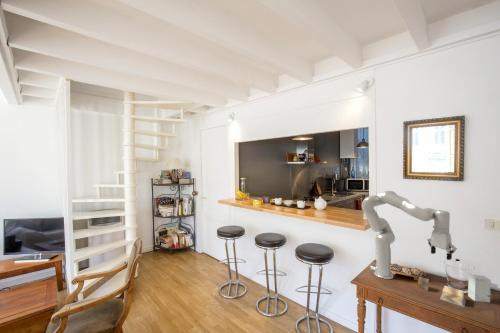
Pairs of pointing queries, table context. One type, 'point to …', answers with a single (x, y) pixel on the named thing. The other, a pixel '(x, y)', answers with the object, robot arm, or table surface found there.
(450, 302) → the blueprint board
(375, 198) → the robot arm
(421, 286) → the walnut block
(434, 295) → the table surface
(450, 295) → the oak block
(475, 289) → the skincare box
